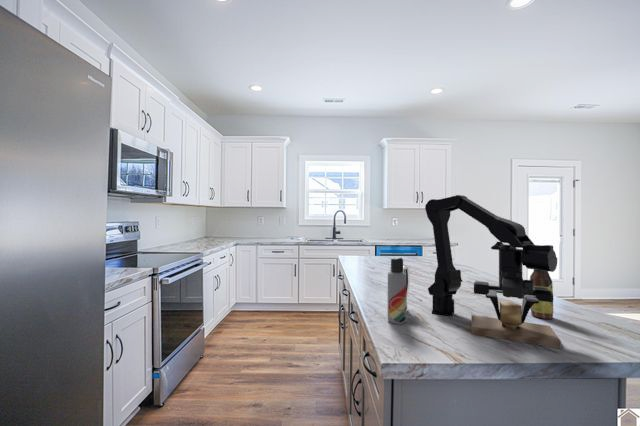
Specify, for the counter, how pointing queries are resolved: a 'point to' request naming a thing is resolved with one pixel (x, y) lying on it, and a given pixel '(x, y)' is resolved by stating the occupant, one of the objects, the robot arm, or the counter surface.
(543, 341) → the walnut board
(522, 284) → the robot arm
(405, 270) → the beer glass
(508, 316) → the oak peg
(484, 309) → the counter surface
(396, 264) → the lotion bottle
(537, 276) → the sauce bottle
